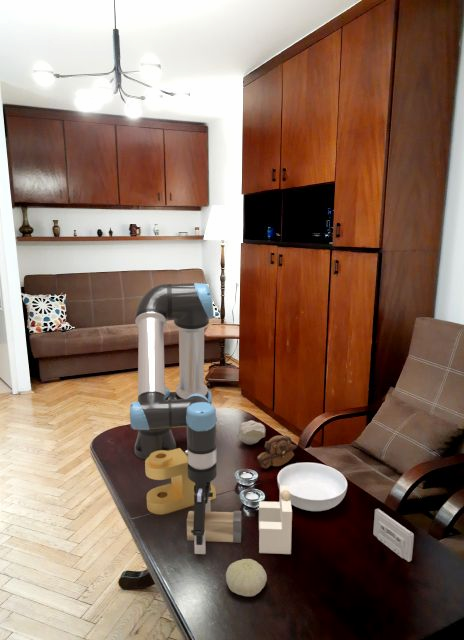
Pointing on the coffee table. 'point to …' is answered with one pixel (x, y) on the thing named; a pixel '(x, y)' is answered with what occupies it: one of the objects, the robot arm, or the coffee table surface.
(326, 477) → the serving bowl
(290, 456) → the wooden carving
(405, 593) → the coffee table surface
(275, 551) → the white notched block
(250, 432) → the white rock
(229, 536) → the rail
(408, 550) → the cassette
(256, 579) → the sea urchin shell
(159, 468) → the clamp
